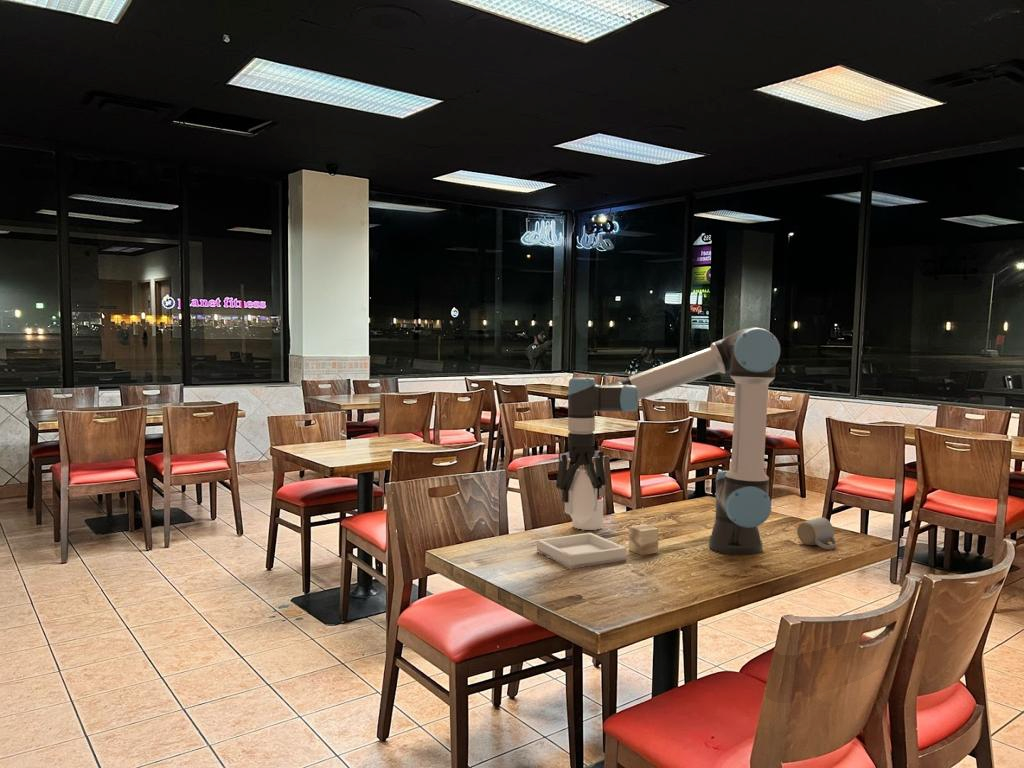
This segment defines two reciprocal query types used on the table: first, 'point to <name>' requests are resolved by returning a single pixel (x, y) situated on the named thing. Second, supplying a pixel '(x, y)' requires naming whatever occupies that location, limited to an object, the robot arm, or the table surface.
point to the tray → (581, 550)
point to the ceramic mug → (816, 533)
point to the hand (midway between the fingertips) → (580, 511)
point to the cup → (593, 518)
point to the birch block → (643, 539)
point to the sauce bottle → (582, 497)
